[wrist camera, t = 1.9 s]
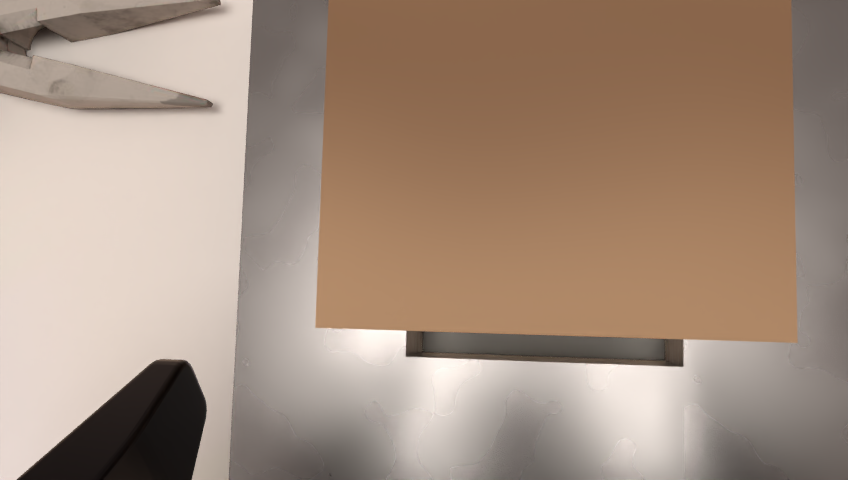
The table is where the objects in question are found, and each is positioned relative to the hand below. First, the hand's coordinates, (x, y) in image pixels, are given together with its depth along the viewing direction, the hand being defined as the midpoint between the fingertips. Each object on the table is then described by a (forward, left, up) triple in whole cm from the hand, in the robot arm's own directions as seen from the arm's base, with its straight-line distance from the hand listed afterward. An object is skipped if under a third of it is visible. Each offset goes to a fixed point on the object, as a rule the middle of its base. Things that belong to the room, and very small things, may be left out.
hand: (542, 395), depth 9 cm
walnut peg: (+2, -2, -10) cm, 11 cm away
